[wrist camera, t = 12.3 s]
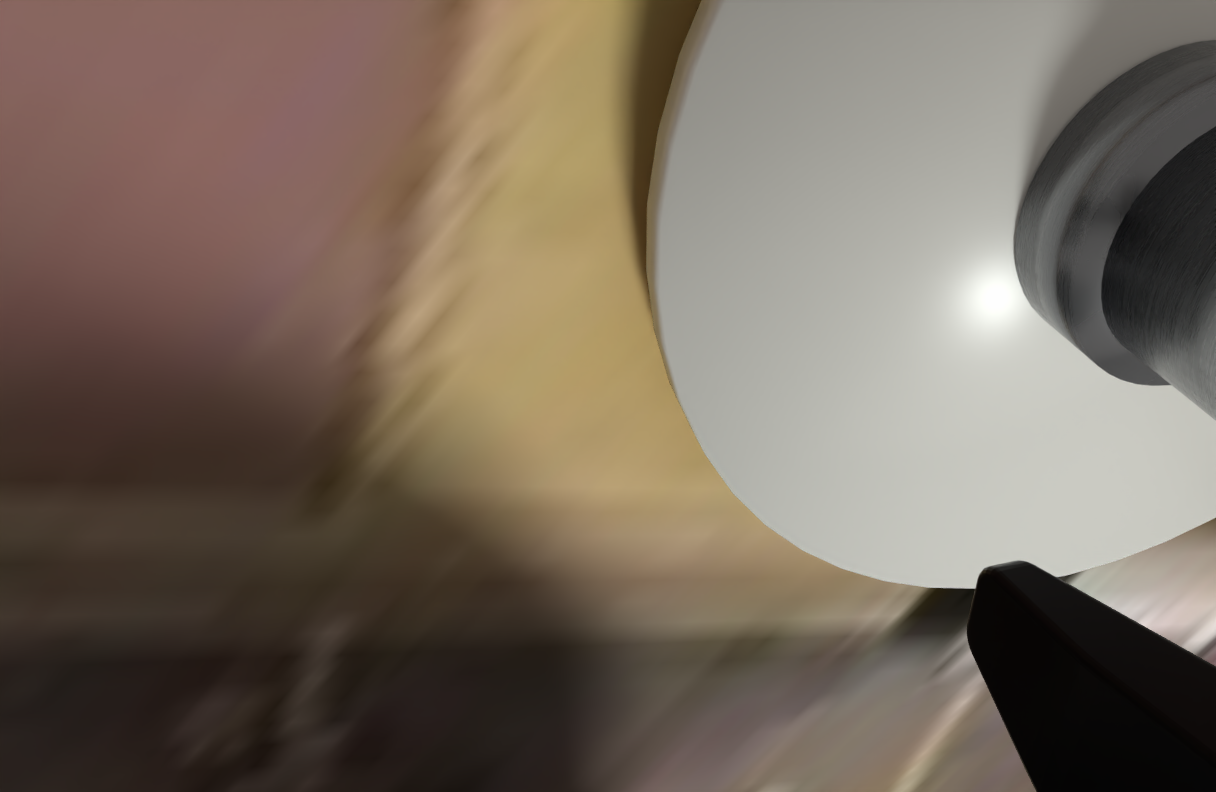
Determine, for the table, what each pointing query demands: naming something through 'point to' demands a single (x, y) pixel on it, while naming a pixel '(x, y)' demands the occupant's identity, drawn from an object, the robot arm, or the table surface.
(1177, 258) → the brass-topped metal cylinder
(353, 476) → the table surface
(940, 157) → the white round disc
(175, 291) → the table surface
